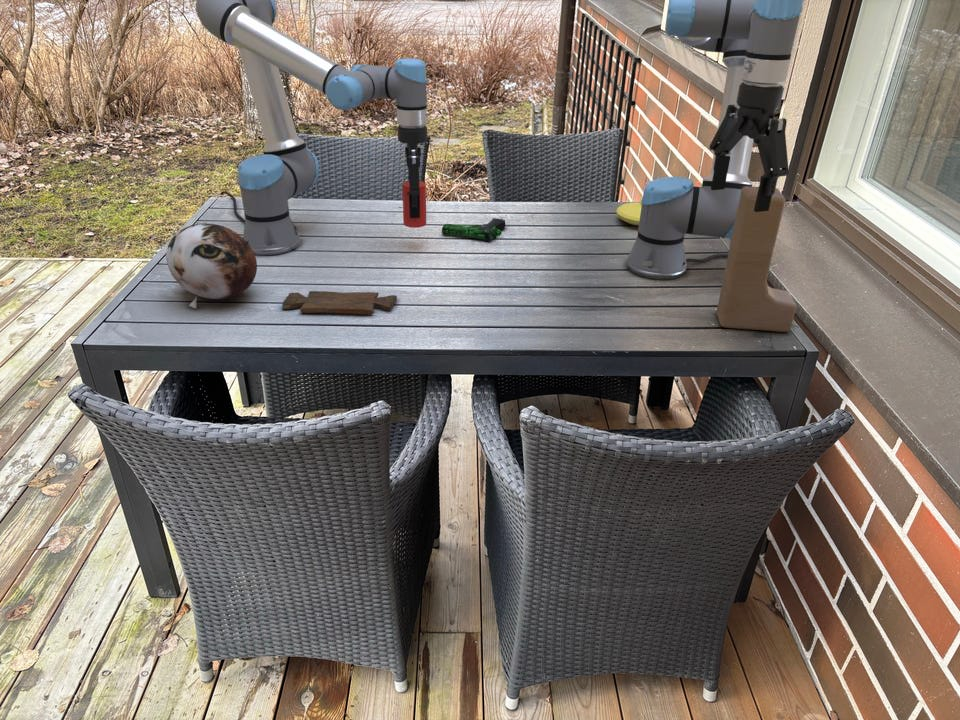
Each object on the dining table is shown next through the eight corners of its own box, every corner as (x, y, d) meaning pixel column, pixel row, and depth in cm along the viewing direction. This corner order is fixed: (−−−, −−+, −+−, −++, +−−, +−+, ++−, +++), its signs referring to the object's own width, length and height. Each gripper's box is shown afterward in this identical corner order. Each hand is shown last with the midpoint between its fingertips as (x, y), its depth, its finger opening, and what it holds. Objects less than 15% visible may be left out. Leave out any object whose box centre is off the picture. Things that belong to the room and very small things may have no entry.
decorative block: (790, 333, 157) (826, 200, 141) (720, 328, 158) (748, 196, 143) (782, 318, 163) (816, 189, 148) (715, 313, 165) (741, 185, 149)
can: (427, 220, 197) (427, 180, 191) (424, 228, 191) (424, 188, 186) (405, 219, 197) (404, 179, 191) (401, 227, 192) (400, 186, 186)
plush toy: (130, 285, 161) (164, 203, 163) (192, 308, 177) (221, 233, 178) (195, 307, 151) (229, 220, 152) (254, 330, 166) (285, 250, 168)
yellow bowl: (629, 210, 226) (631, 188, 223) (676, 220, 218) (680, 198, 215) (606, 223, 215) (608, 200, 212) (655, 235, 207) (658, 211, 204)
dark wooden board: (392, 317, 161) (397, 298, 170) (391, 310, 160) (397, 291, 169) (278, 313, 161) (289, 294, 170) (277, 306, 161) (289, 287, 169)
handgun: (511, 219, 210) (493, 234, 198) (511, 228, 211) (492, 244, 199) (461, 212, 215) (440, 226, 203) (461, 221, 217) (440, 236, 204)
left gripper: (429, 134, 173) (430, 225, 185) (425, 116, 189) (426, 201, 201) (398, 134, 172) (401, 226, 184) (396, 116, 189) (399, 201, 200)
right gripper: (703, 72, 136) (685, 182, 147) (792, 97, 116) (764, 223, 127) (736, 71, 138) (716, 179, 149) (829, 95, 118) (798, 218, 129)
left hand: (414, 213), depth 193 cm, fingers closed on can, 6 cm apart
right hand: (738, 199), depth 138 cm, fingers open, 13 cm apart
